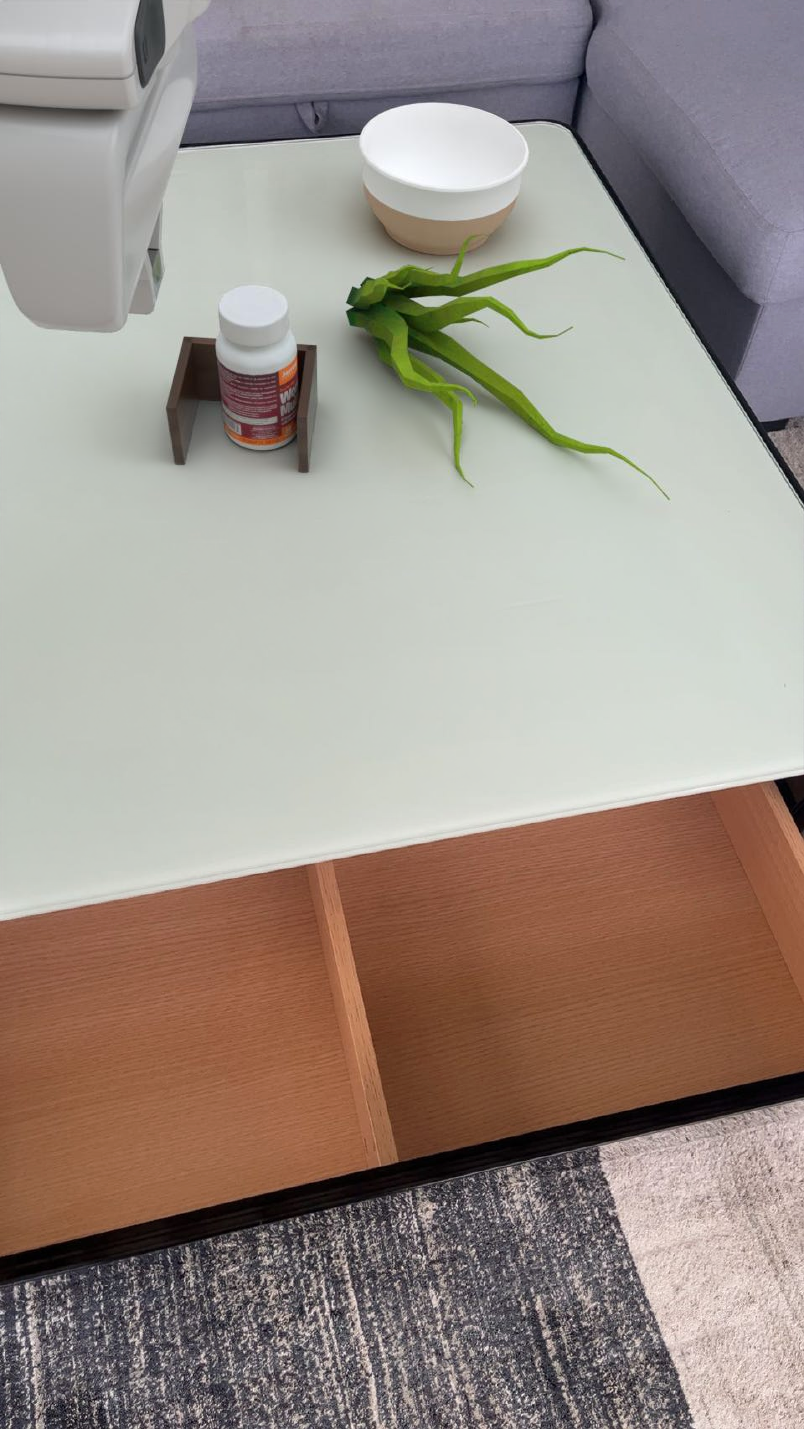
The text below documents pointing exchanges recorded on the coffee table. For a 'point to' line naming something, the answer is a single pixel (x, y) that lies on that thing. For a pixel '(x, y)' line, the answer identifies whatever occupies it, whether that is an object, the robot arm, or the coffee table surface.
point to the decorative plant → (417, 327)
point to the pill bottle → (257, 367)
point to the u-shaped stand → (202, 382)
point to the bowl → (441, 174)
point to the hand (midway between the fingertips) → (141, 295)
